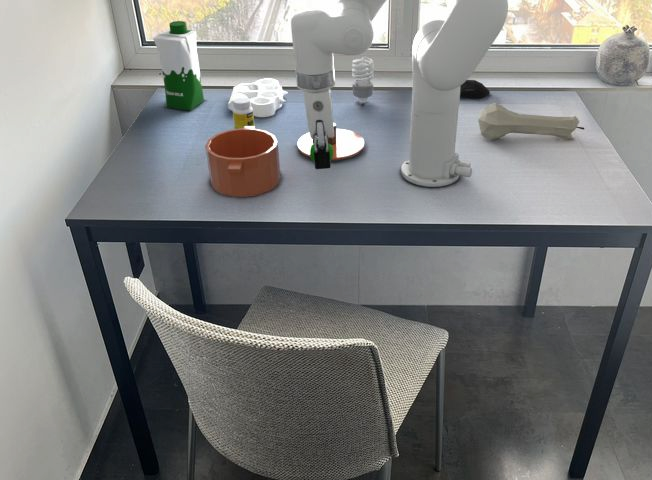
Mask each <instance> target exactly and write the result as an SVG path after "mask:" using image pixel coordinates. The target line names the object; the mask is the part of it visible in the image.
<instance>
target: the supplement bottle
mask: <svg viewBox="0 0 652 480" xmlns="http://www.w3.org/2000/svg"><path fill="white" fill-rule="evenodd" d="M233 104H234V108H233V111H232V117H233V127H234V129H240V128H244V126H255V118H254V117H255V116H253V108H252V107H251V100H250V99H249V98H247V97H239V98H236V99H234V100H233Z"/></svg>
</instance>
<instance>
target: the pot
mask: <svg viewBox="0 0 652 480" xmlns="http://www.w3.org/2000/svg"><path fill="white" fill-rule="evenodd" d="M204 148H205V154H206V161H207V168H208V173H209V181H210V184H211V187H212V188H213V189H214V191H216V192H217V193H219V194H222V195H224V196H228V197H235V198H247V197H253V196H255V197H256V196H259V195H262V194H265V193H268V192H270V191H271V190H273V189H274V188H276V187H277V186H278V185H279V183H280V180H281V167H280V155H279V142H278V139H277V138H276V136H275V134H273V133H271V132H269V131H267V130H264V129H259V128H256V126H255V125H254V126H244V128H240V129H235V128H234V129H233V128H232V129H228V130H225V131H221V132H218V133H216V134H214V135H213V136H211V137H209V139H208V140H207V141H206V143H205V146H204Z"/></svg>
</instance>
